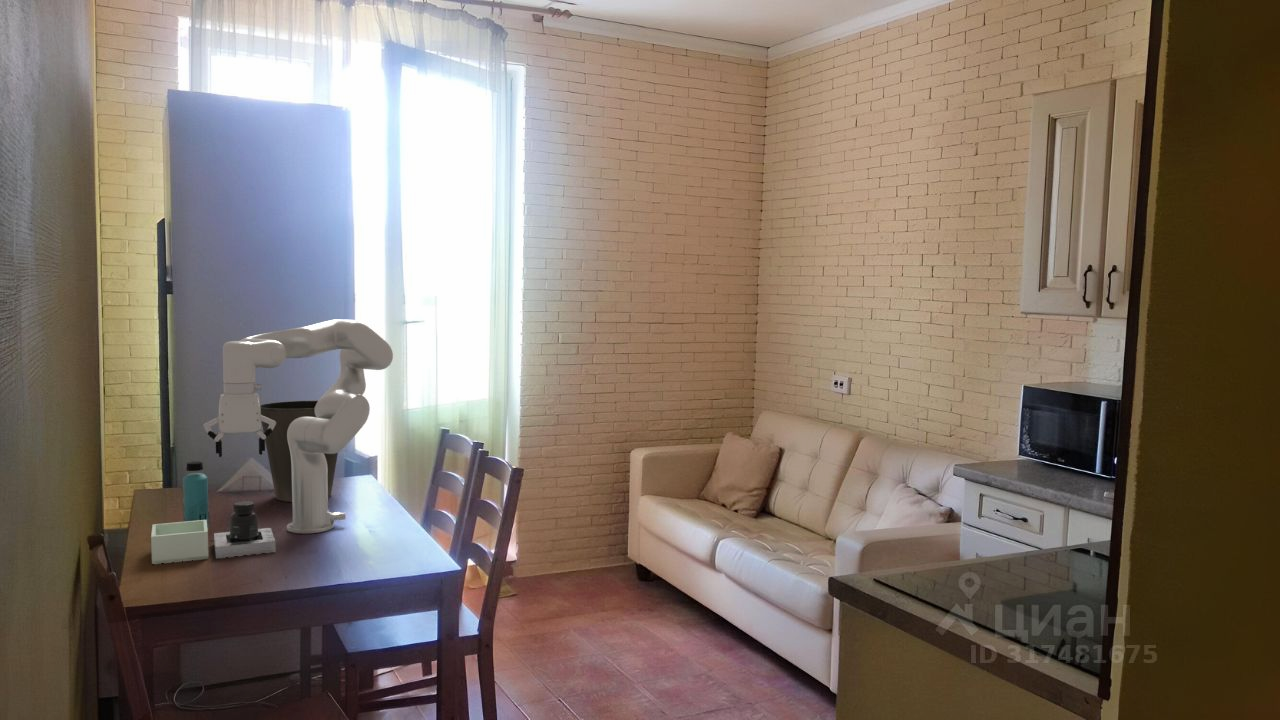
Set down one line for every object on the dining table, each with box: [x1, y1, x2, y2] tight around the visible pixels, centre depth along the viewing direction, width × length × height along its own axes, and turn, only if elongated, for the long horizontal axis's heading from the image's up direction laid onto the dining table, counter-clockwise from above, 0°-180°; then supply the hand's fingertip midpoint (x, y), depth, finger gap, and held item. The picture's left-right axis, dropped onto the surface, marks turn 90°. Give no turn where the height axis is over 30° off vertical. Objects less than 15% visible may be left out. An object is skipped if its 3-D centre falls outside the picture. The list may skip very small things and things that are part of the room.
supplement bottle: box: [229, 500, 259, 543], centre depth 247 cm, size 7×7×12 cm
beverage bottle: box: [182, 460, 211, 530], centre depth 260 cm, size 6×7×20 cm
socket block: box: [213, 527, 277, 560], centre depth 247 cm, size 14×14×3 cm
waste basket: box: [260, 400, 339, 503], centre depth 305 cm, size 27×20×30 cm
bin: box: [150, 520, 209, 565], centre depth 241 cm, size 13×13×7 cm
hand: (240, 455), depth 245 cm, fingers open, 9 cm apart
